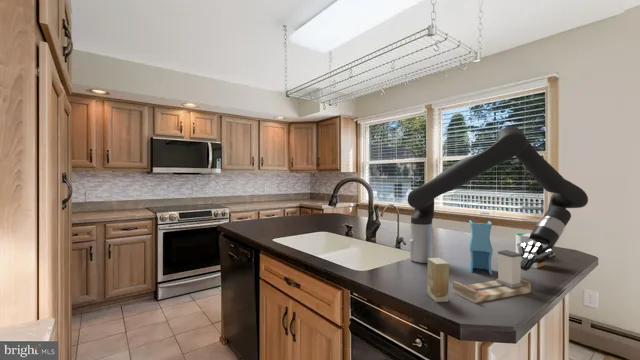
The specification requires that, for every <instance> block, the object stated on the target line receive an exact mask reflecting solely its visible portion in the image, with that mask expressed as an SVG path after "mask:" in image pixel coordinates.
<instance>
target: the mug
mask: <svg viewBox="0 0 640 360" xmlns="http://www.w3.org/2000/svg"><path fill="white" fill-rule="evenodd" d="M524 234H525V233H515V252H516V253H519V251H518V247H517V244H518V243H520V240H521V235H524Z"/></svg>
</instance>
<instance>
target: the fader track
mask: <svg viewBox="0 0 640 360" xmlns="http://www.w3.org/2000/svg"><path fill="white" fill-rule="evenodd" d="M521 282H522V283H523V286H520V287H514V288H511V287H508V286H506V285H503V284H501V283H498V282H496V279H495V280H489V281H483V282H479V283H478V282H477V283H472V284H466V285H465V284H464V283H460V282H459V281H456V280H452V292H453V293H454V294H457V295H458V296H460V297H463V298H464V299H466V300H468V301H469V302H471V303H474V304H478V303H483V302H486V301H492V300H496V299H497V300H498V299H502V298H503V299H504V298H509V297H514V296H518V295H524V294H528V293H529V294H531V291H532V286H531V285H532V283H531V281H529V280H527V279H526V280H525V279H523V278H521Z"/></svg>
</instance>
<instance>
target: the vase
mask: <svg viewBox="0 0 640 360" xmlns="http://www.w3.org/2000/svg"><path fill="white" fill-rule="evenodd" d="M468 221H469V226H470V232H471V233H470V239H469V243H468V247H469V252H470V262H469V263H470V264H469V267H468V268H469V272H470V273H473V271H474V270H473V269H481V270H482V269H483V270H486V271H488V273H489V275H491V276H493V271H492V257H493V251H494V249H493V247H492V243H491V237H490V236H491V230H492V226H493V223H492V222H491V221H490V220H488V221H487V223H481V222H480V223H479V222H472V220H470V219H469V220H468Z"/></svg>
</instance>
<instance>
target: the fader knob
mask: <svg viewBox="0 0 640 360" xmlns="http://www.w3.org/2000/svg"><path fill="white" fill-rule="evenodd" d="M497 254H498V258H497V261H498V262H497V264H498V266H497V267H498V268H497V269H498V271H497V272H498V273H497V274H498V277H497V278H495V280H496V282H498V283H501V284H503V285H506V286H508V287H511V288H514V287H520V286H523V283H522V282H521V279H522V277H521V275H522V274H521V273H522V269H521V254H519V253H516V251H511V250H508V249H507V250H505V249H504V250H499V251H497Z"/></svg>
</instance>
